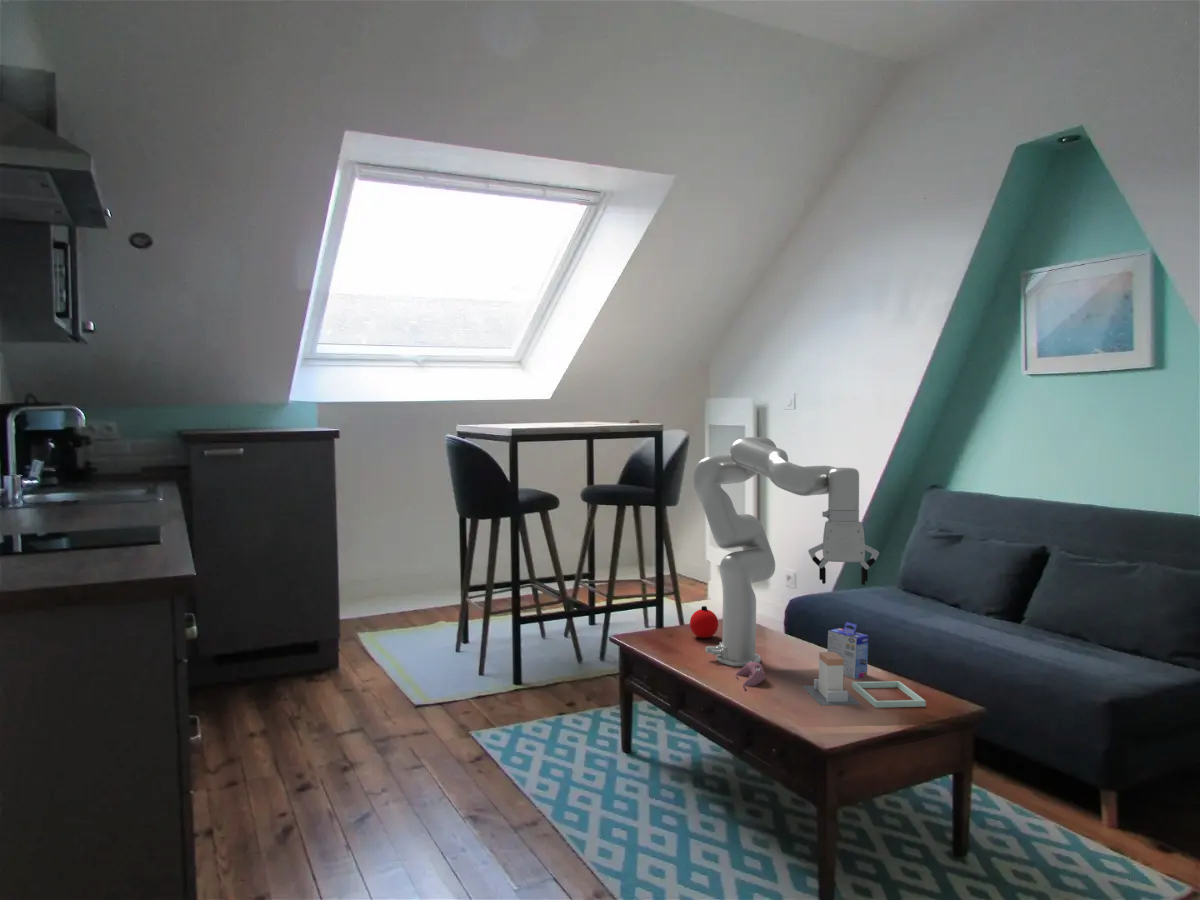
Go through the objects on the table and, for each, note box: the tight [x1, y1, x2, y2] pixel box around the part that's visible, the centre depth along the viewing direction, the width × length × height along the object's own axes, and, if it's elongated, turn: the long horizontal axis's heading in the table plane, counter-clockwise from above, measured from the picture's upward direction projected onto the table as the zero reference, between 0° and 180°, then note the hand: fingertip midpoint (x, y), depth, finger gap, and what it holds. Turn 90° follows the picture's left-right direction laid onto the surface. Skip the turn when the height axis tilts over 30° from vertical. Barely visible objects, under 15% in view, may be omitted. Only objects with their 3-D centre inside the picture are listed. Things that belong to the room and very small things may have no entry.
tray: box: [851, 680, 927, 708], centre depth 211 cm, size 13×15×2 cm
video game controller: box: [735, 661, 765, 691], centre depth 222 cm, size 10×5×7 cm, turn 4°
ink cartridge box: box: [826, 621, 869, 680], centre depth 229 cm, size 10×6×14 cm, turn 36°
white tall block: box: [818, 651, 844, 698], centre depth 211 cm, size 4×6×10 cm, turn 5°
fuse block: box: [801, 678, 861, 706], centre depth 211 cm, size 10×14×4 cm
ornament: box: [689, 605, 719, 639], centre depth 266 cm, size 9×9×10 cm
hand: (843, 583), depth 214 cm, fingers open, 9 cm apart
